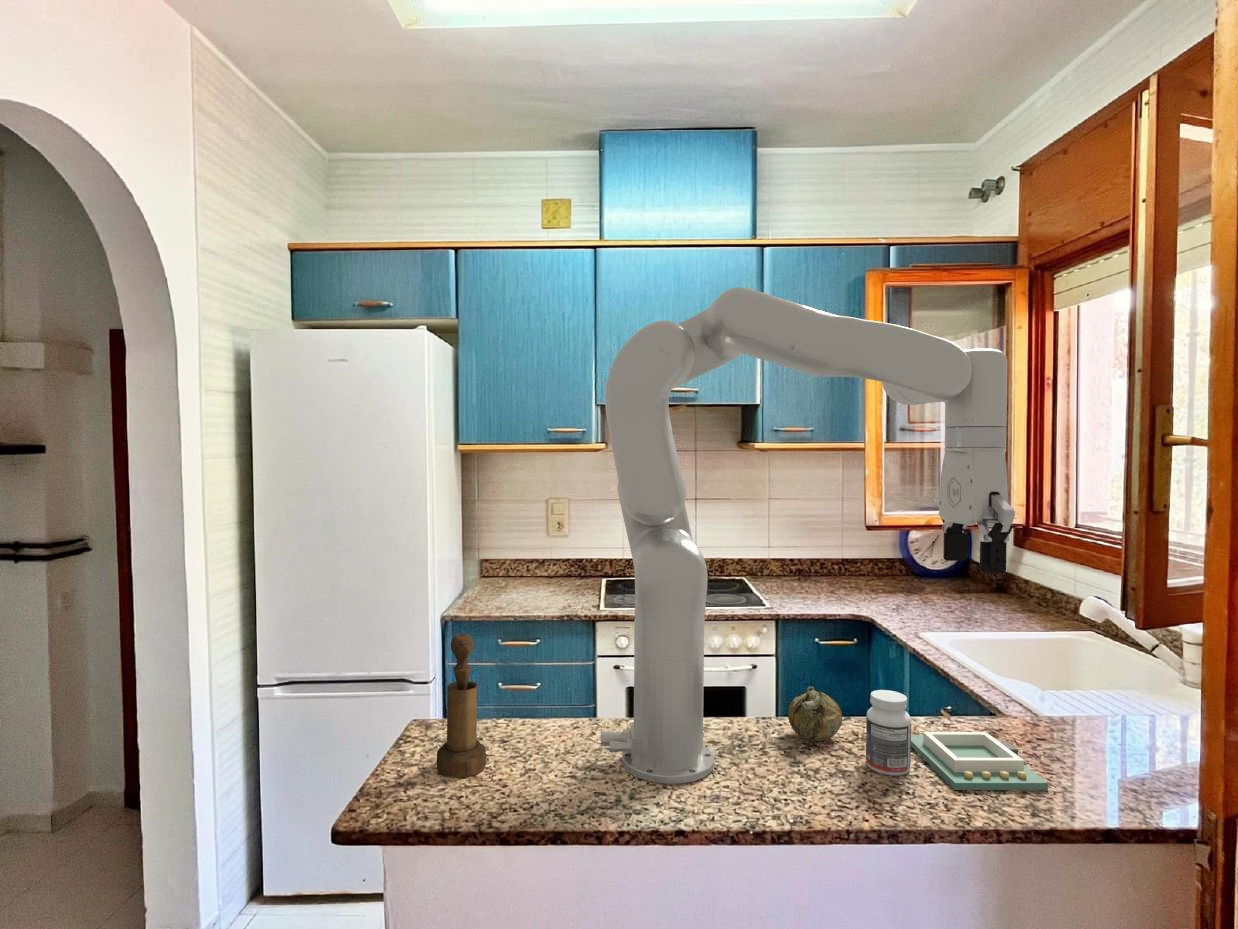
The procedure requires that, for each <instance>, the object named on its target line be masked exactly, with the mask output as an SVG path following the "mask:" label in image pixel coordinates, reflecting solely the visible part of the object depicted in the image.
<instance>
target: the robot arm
mask: <svg viewBox="0 0 1238 929" xmlns="http://www.w3.org/2000/svg"><path fill="white" fill-rule="evenodd" d="M742 355H746V356H750V357H752V358H755V359H758V360H763V361H766V362H769V363H773V364H775V365H779V366H782V367H786V368H788V369H791V370H794V371H797V372H800V373H802V374H803V373H804V374H807V375H809V376H810V375H811V376H816V377H823V378H856V379H857V378H858V379H865V380H871V381H875V382H881V384H882V389H883V391H884V392H885V393H886V395H887V396H888V397H889V398H890V399H891V400H893V401H894V402H896V403H899V404H903V405H908V406H918V405H925V404H933V403H944V404H945V405H944V406H945V407H944V455H943V459H942V466H941V471H940V472H941V473H940V484H939V496H938V497H939V498H938V499H939V500H938V516H939V518H940V519H941V521H942V528H941V529H942V532H943V554H942V555H943V560H944V561H947V562H964V561H965V562H966V561H967V559H968V532H965V531H966V528H968V526H971V527H972V526H975V525H976V524H977V526H978V529H979V532H980V535H981V537H982V539H983V541H979V571H980V572H981V573H985V574H989V573H990V574H995V573H996V574H997V573H998V574H1003V573H1006V571H1007V548H1008V547H1007V543H1008V542H1009V541H1010V536H1009V535H1010V533H1011V532H1012V530H1013V528H1012V527H1013V526H1012V525H1013V522H1014V519H1015V516H1016V511H1015V509H1014V508H1013V507H1012V505H1010V504H1009V488H1008V468H1007V462H1006V454H1005V453H1006V452H1007V422H1008V420H1007V419H1008V418H1007V416H1008V415H1007V414H1008V409H1007V408H1008V358H1007V355H1006V353H1004V351H1002V350H999V349H996V348H995V349H993V348H973V349H971V348H970V349H962V348H961V347H960V346H959V345H957V344H956V343H954V342H953V341H950V340H948V339H945V338H942V337H938V336H935V335H932V334H930V333H926V332H923V331H921V330H917V329H914V328H909V327H907V326H902V325H898V324H893V323H888V322H882V321H875V320H870V319H869V320H867V319H863V318H862V319H861V318H859V317H858V318H856V317H852V316H845V315H837V314H834V313H829V312H825V311H823V310H819V309H816V308H813V307H810V306H807V305H803V304H801V303H800V304H799V303H797V302H794V301H790V300H787V299H784V298H782V297H777V296H774V295H772V294H768V293H766V292H762V291H760V290H756V289H753V288H748V287H734V288H729V289H726V291H724V292H722V293H721V294H720V295H719V296H718V297H716V299H715V300H714V301H713V302H712V303H711V305H710V307H708V308H706V309H705V310H703V311H701V312H699V313H697V314H695V315H694V316H691V317H690V318H687V319H685V320H683V321H682V322H679V323H676V322H675V321H671V320H657V321H655V322H651V323H649V324H647V325H645V326H643V327H642V328H641V329H639V330H638V331H637V332H635V333H634V334H633V335H632V336H631V337H630V338H629V339H628V340H627V341H626V343H624V345H623V346H622V347H621V348H620V350H619V351H618V353H617V354H616V356H615V358H614V359H613V362H612V364H611V367H610V370H609V373H608V376H607V379H606V384H605V393H604V404H605V416H606V421H607V426H608V427H607V428H608V432H609V437H610V444H611V449H612V451H611V452H612V456H613V460H614V464H615V470H616V475H617V481H618V483H617V494H618V499H619V504H620V509H621V513H622V517H623V522H624V527H625V531H626V535H627V536H626V537H627V540H628V544H629V549H630V552H631V557H632V563H633V570H634V629H633V630H634V632H633V633H634V634H633V638H634V639H633V645H634V646H633V649H634V651H633V652H634V656H633V658H634V661H633V662H634V663H633V665H634V666H633V667H634V668H633V669H634V670H633V722H630V729H623V732H621V731H617V732H614V731H611V730H610V731H607V730H606V731H600V747H609V753H619V752H622V753H621V755H622V756H621V763H622V766H623V767H624V769H625V770H626V771H627V772H628V774H631V775H633V776H634V777H636V778H639V779H641V780H643V781H644V780H645V781H647V782H652V783H655V784H656V783H657V784H666V785H678V784H679V785H680V784H687V783H691V782H696V781H699V780H702V779H703V778H705V777H708V775H709V774H711V773H712V771H713V769H714V767H715V757H714V754H713V752H712V751H711V750H710V749H709V748H708V747H707V746H705V745H703V744H704V691H705V690H704V684H705V683H704V681H705V680H704V677H705V676H704V675H705V674H704V672H705V671H704V670H705V651H704V650H705V620H706V619H705V618H706V616H705V615H706V606H707V605H706V604H707V594H708V569H707V563H706V560H705V558H704V555H703V552H702V551H701V549H700V547H698V545H697V544H696V543H695V542H694V540H693V534H692V530H691V526H690V522H689V516H688V512H687V508H686V499H687V484H686V479H685V477H684V474H683V472H682V468H681V464H680V461H679V456H678V453H677V449H676V444H675V443H676V442H675V439H674V434H673V428H672V427H673V426H672V422H671V418H670V417H671V416H670V409H669V402H670V401H669V400H670V395H671V392H672V390H673V389H675V388H677V387H679V386H682V385H683V384H687V383H688V382H690V381H693V380H694V379H696V378H699V377H700V376H702V375H705V374H707V373H710V372H711V371H713V370H715V369H717V368H719V367H721V366H724V365H726V364H727V363H729V362H731V361H733V360H735V359H736V358H739V357H740V356H742ZM990 528H991V530H990Z"/></svg>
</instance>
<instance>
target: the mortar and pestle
mask: <svg viewBox="0 0 1238 929" xmlns="http://www.w3.org/2000/svg"><path fill="white" fill-rule="evenodd" d="M450 648H451V649H450V650H451V651H452V653H453V655H454V658H455V659H456V665H455V667H453V674H454V677H455V680H456V681H453V682H450V683H449V684H447V686H446V687H447V688H446V690H447V692H446V694H447V698H446V699H447V700H446V701H447V703H446V704H447V707H446V708H447V711H446V712H447V714H446V717H447V718H446V722H447V723H446V742H445V743H443V744H442V745H441V746H440V747H439V748H438V750H437V752H436V770H437V771H436V772H438V773H439V774H441V775H442V776H445V777H450V778H467V777H471V776H474V775H477V774H480V773H481V772H483V771H484V770H485V768H486V766H487V759H486V758H487V750H486V749H487V748H486V746H485V745H484V744H483V743H481V742H480V741H479V740H478V738H477V731H478V730H477V728H478V727H477V722H478V720H477V716H478V713H477V712H478V683H477V682H475V681H471V680H469V679H470V675H471V672H472V671H471V670H472V666H470V665H469V662H468V661H469V660H468V659H469V657H470V655H471V653H472V651H473V650H474V649H473V648H474V639H473V638H472V636H471V635H470V634H468V633H457V634H455V635H454V636H453V637H452V639H451V641H450Z"/></svg>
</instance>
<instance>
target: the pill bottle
mask: <svg viewBox="0 0 1238 929" xmlns="http://www.w3.org/2000/svg"><path fill="white" fill-rule="evenodd" d="M869 698H870V699H869V703H870V704H871V705H872V706H871V707H870V708H869V709H868V710H867V712H866V722H865V723H866V726H865V727H866V728H865V730H866V731H865V735H866V736H865V763H866V765H867V766H868V768H870V769H871V770H872V771H873V772H876V773H879V774H882V775H885V776H892V777H895V776H896V777H897V776H899V777H900V776H903V775H904V776H905V775H906V774H909V772H910V771H911V758H912V757H911V756H912V754H911V753H912V752H911V751H912V750H911V749H912V748H911V735H912V718H911V716H910V714H909V713H908V712H907V711H906V709H907V707H908V697H907V696H906V695H905V694H903V693H901V692H898V691H894V690H888V689H876V690H873V691H871V693H870V696H869Z"/></svg>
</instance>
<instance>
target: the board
mask: <svg viewBox="0 0 1238 929" xmlns="http://www.w3.org/2000/svg"><path fill="white" fill-rule="evenodd" d="M911 747H912V748H913V749H914V750H915V751H916V752H917V753H918V754H919V755H920V756H921V757H922V758H923V759H924V760H925V761H926V762H927V763H928V764H929V765H930V766H929V765H928V764H927V765H928V766H929V767H930V768H931V767H932V768H933V769H932V768H931V769H932V770H933V771H934V770H935V771H936V772H935V773H936V774H938V776H940V778H942V780H944V782H945V783H947V784H948V785H949V787H951V788H952V790H954V791H955V790H1016V791H1017V790H1018V791H1019V790H1020V791H1021V792H1022V791H1024V792H1027V791H1029V792H1031V791H1032V792H1033V791H1034V792H1035V791H1039V792H1041V791H1042V792H1043V791H1044V792H1045V791H1047V792H1048V791H1049V782H1048V781H1046V780H1045V779H1044V778H1042V777H1041V776H1040V775H1038V774H1037V773H1035V772H1034V771H1033V770H1032V769H1031V768H1029V767H1028V766H1027V765H1025V760H1024V759H1023V758H1022V757H1021V756H1019V749H1018V748H1017V747H1016V746H1014V745H1013V744H1011V743H1010V742H1008V741H999V740H997V739H996V738H995V737H993V735H991V734H989V733H988V732H984V731H981V732H979V731H977V732H975V731H974V732H973V731H967V732H966V731H965V732H964V731H963V732H962V731H959V732H956V731H954V732H953V731H924V732H923V734H911ZM912 748H911V749H912ZM913 749H912V750H913ZM914 750H913V751H914ZM915 751H914V752H915ZM916 752H915V753H916ZM917 753H916V754H917ZM918 754H917V755H918ZM919 755H918V756H919ZM920 756H919V757H920ZM921 757H920V758H921ZM922 758H921V759H922ZM923 759H922V760H923ZM924 760H923V761H924ZM925 761H924V762H925ZM926 762H925V763H926ZM1025 790H1026V791H1025ZM1016 791H1015V792H1016Z"/></svg>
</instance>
